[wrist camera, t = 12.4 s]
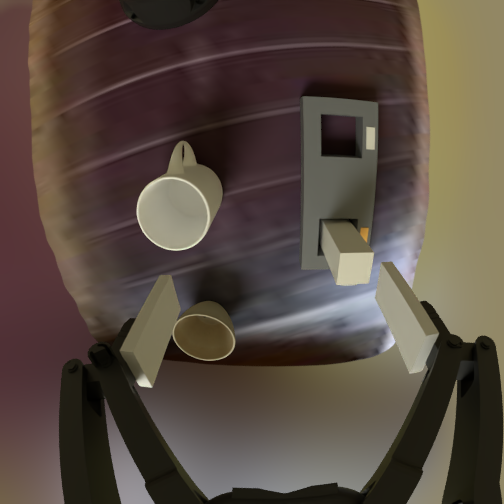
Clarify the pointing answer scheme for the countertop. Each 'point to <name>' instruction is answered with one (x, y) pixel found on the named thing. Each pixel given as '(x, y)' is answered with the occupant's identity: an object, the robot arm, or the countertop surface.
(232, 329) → the flower pot
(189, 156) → the mug
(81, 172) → the countertop surface
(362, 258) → the plug
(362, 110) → the panel
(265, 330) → the countertop surface
